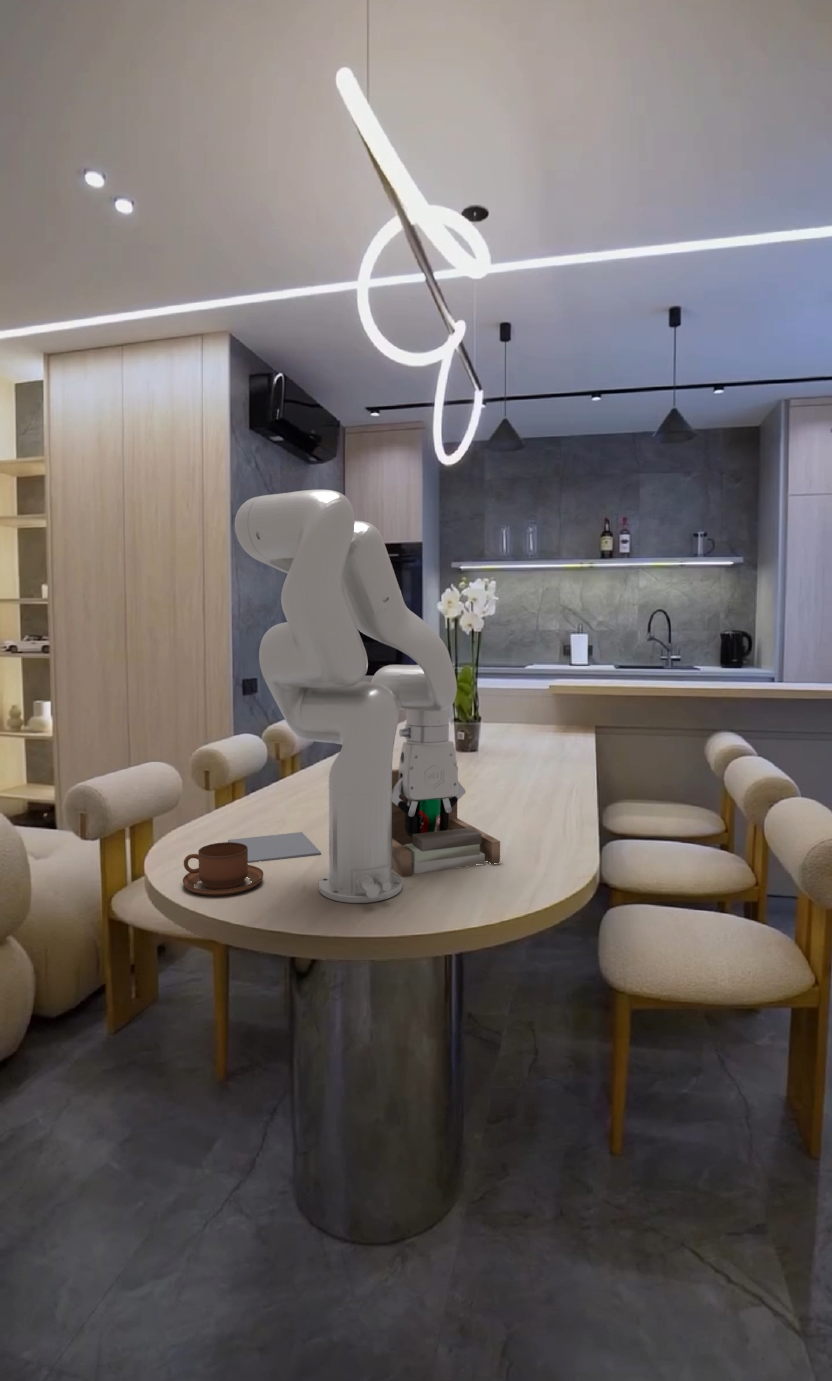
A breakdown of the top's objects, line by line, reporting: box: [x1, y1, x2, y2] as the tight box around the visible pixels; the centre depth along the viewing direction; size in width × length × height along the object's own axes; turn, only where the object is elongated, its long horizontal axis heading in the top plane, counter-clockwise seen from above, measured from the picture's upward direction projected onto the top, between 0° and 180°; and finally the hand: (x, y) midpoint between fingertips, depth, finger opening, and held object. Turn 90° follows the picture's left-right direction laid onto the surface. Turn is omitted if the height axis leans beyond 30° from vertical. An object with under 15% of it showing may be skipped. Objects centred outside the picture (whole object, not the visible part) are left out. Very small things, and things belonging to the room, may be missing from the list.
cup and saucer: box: [182, 841, 264, 897], centre depth 109 cm, size 12×12×6 cm
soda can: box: [415, 799, 441, 834], centre depth 126 cm, size 5×5×12 cm
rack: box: [392, 765, 501, 878], centre depth 125 cm, size 18×18×14 cm
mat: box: [228, 831, 322, 864], centre depth 129 cm, size 14×14×1 cm
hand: (427, 833), depth 127 cm, fingers closed on soda can, 5 cm apart
